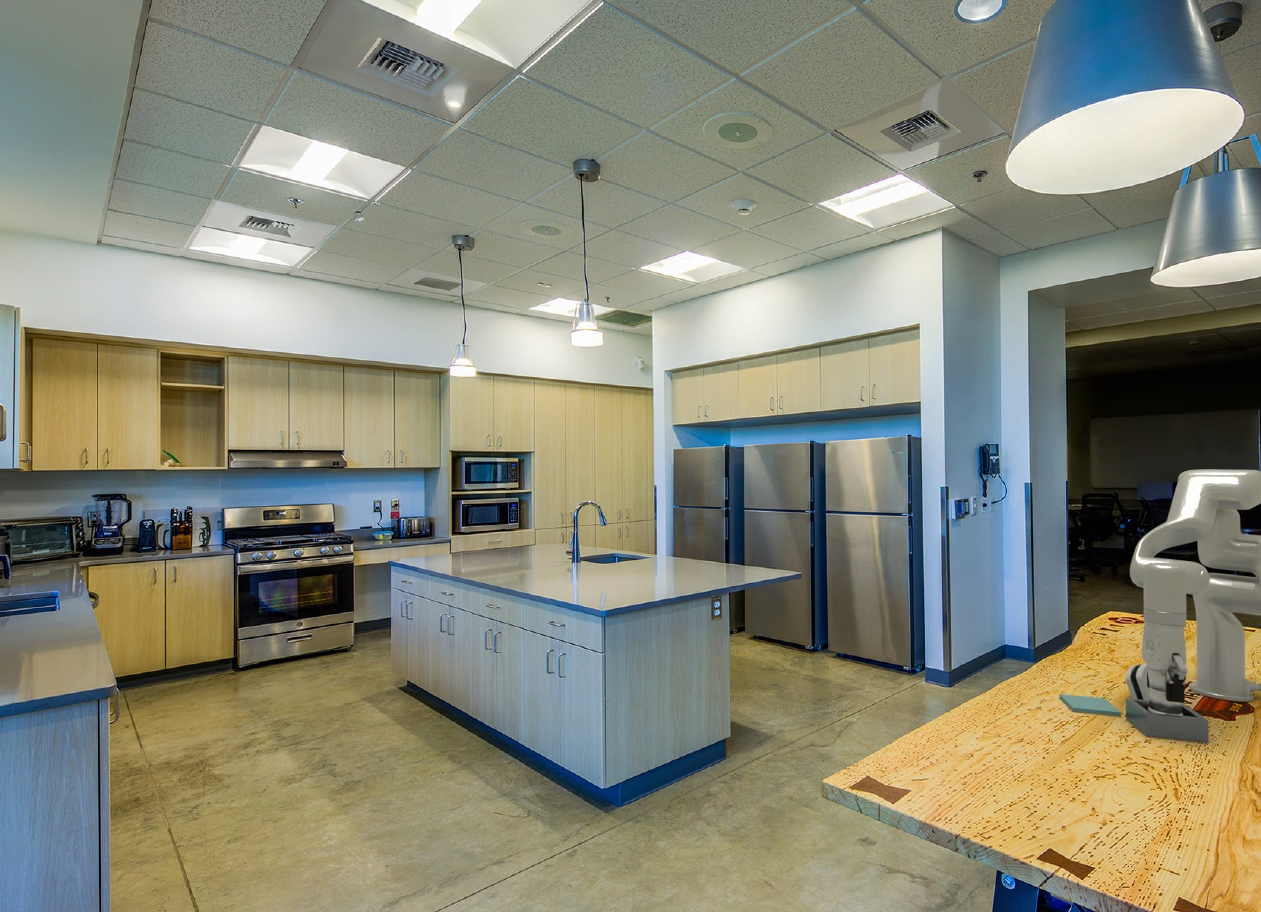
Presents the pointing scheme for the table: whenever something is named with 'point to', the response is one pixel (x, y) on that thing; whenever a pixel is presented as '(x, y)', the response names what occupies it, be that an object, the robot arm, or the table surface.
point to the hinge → (1138, 682)
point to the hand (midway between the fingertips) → (1165, 694)
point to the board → (1090, 705)
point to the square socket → (1167, 723)
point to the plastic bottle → (1160, 692)
